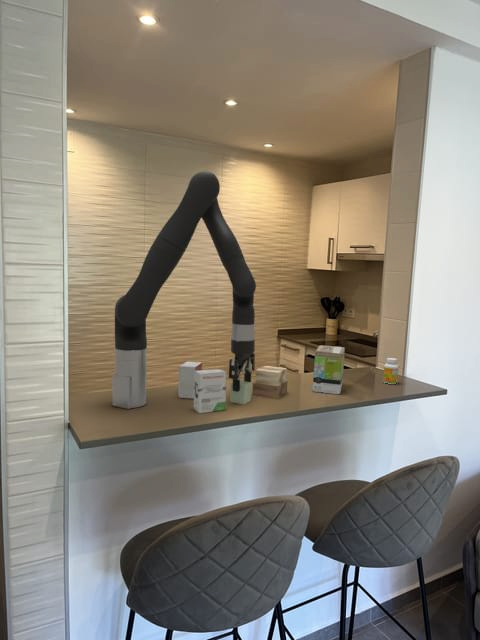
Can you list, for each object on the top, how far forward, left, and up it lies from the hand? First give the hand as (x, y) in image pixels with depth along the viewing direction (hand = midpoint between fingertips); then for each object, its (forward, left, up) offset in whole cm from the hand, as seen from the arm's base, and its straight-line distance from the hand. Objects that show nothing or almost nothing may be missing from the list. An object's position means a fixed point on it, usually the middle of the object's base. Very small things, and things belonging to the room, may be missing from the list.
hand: (241, 388), depth 144 cm
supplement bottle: (+53, -39, -4) cm, 66 cm away
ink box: (-13, +4, -4) cm, 15 cm away
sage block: (0, 0, -4) cm, 4 cm away
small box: (-3, +17, -4) cm, 18 cm away
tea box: (+32, -20, -4) cm, 38 cm away
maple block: (+12, -5, 0) cm, 13 cm away
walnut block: (+13, -5, -5) cm, 14 cm away
